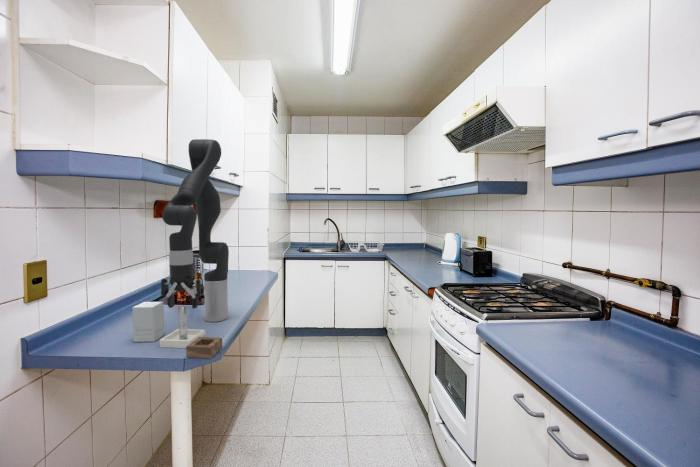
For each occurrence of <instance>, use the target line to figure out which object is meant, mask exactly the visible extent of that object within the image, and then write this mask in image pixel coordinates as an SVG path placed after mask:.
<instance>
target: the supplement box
mask: <svg viewBox="0 0 700 467" xmlns="http://www.w3.org/2000/svg"><path fill="white" fill-rule="evenodd" d="M164 307H165V306H164V301H143V302H141V303H139V304H137V305H134V306H132V308H131V309H132V311H131V312H132V327H133V328H132V331H133V343H134V342H135V343H137V342H138V343H141V342H142V343H143V342H147V343H148V342H150V343H151V342H152V343H153V342H156V341H157V340H160V339H161V338H162V337H163V336H164V335H165V313H164V312H165V310H164Z"/></svg>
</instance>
